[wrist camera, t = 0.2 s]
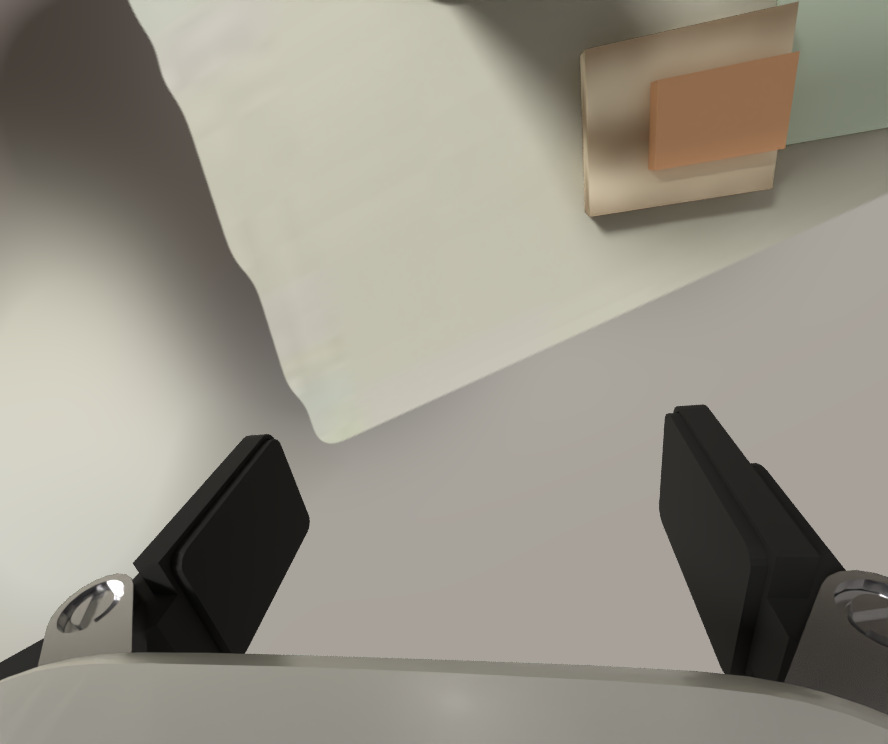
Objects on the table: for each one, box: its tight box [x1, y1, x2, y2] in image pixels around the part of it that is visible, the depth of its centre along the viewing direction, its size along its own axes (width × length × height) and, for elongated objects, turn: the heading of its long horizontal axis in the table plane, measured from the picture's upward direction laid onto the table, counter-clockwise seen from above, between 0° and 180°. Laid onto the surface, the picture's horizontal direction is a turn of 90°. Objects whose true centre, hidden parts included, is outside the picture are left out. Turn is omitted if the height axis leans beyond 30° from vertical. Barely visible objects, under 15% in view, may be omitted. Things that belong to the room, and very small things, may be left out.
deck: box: [580, 1, 799, 217], centre depth 36 cm, size 12×14×3 cm
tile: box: [648, 51, 800, 171], centre depth 33 cm, size 6×9×2 cm, turn 100°
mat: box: [777, 0, 888, 145], centre depth 33 cm, size 12×12×1 cm
